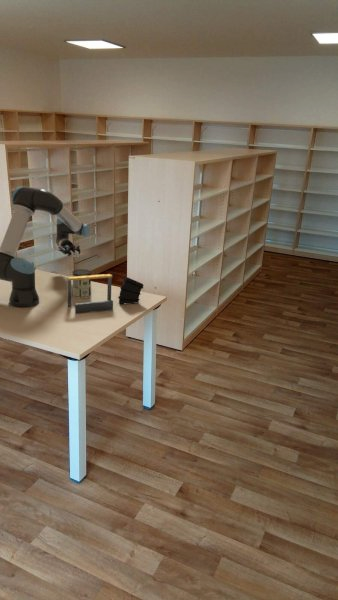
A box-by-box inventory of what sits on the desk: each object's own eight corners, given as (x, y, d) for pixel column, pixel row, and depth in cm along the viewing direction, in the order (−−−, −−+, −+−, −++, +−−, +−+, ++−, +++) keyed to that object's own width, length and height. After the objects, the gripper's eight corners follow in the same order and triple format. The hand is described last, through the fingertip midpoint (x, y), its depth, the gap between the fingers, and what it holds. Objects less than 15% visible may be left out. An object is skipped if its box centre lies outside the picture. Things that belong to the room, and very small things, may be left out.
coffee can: (81, 291, 255) (81, 268, 251) (94, 295, 251) (95, 271, 246) (68, 295, 247) (68, 271, 242) (82, 299, 242) (82, 275, 237)
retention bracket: (72, 314, 222) (72, 283, 217) (67, 306, 232) (66, 276, 226) (116, 309, 233) (117, 280, 227) (109, 302, 242) (110, 273, 236)
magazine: (113, 300, 241) (125, 276, 239) (132, 307, 248) (144, 284, 245) (115, 302, 238) (127, 278, 236) (135, 310, 244) (147, 286, 242)
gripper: (78, 250, 277) (88, 260, 258) (54, 251, 271) (62, 262, 251) (78, 239, 275) (88, 248, 255) (53, 240, 268) (62, 249, 248)
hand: (75, 255), depth 253 cm, fingers open, 2 cm apart
